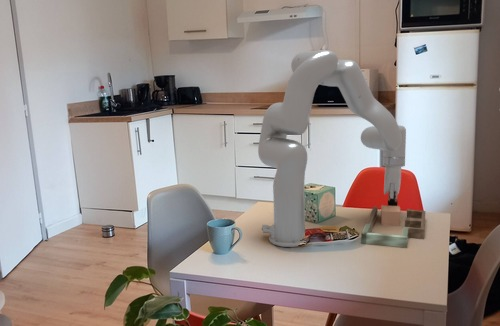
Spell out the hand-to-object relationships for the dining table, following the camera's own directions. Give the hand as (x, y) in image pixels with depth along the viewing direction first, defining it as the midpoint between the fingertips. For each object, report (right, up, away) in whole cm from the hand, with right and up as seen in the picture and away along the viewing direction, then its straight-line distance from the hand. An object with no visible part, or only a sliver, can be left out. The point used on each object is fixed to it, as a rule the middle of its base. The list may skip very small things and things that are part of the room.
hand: (392, 211), depth 173 cm
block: (-3, -3, -7) cm, 8 cm away
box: (-4, -4, -16) cm, 17 cm away
